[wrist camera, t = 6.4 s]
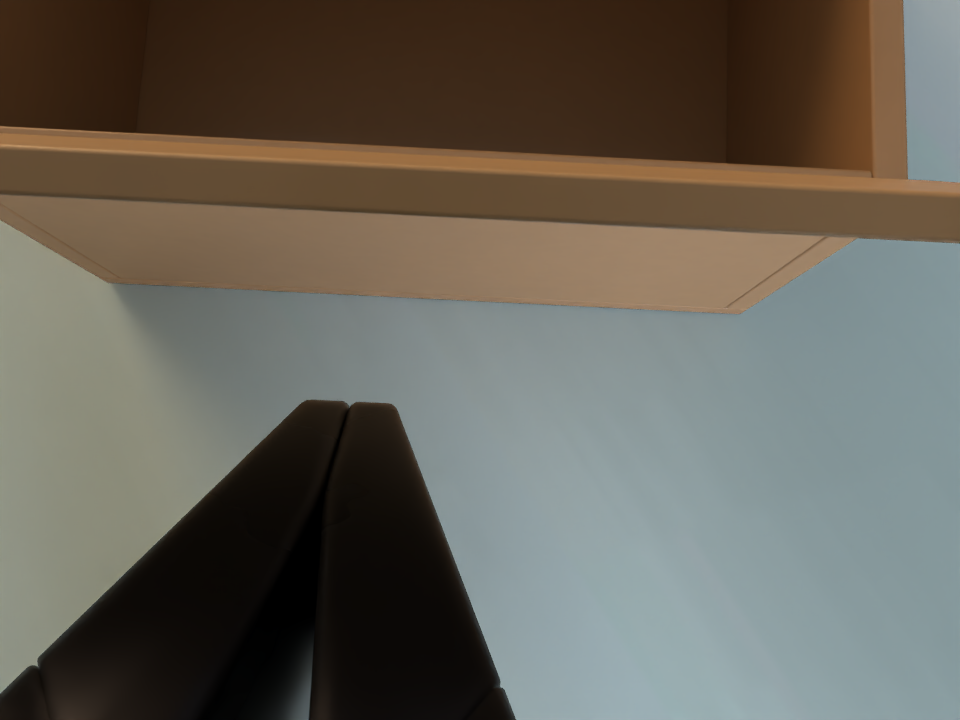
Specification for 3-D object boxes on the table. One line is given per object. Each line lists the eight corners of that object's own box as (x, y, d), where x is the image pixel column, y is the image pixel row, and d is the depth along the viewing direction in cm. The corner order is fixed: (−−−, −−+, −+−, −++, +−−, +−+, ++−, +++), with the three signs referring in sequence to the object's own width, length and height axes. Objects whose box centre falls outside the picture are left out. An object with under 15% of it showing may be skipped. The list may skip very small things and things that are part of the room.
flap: (932, 181, 11) (928, 204, 11) (-146, 124, 11) (-143, 149, 11) (1460, 219, 5) (1445, 269, 5) (-901, 98, 5) (-889, 148, 5)
